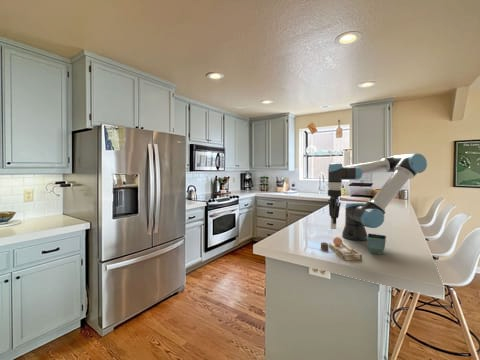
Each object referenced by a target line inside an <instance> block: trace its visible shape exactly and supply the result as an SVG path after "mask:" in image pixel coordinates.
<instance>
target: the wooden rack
mask: <svg viewBox="0 0 480 360" xmlns="http://www.w3.org/2000/svg"><path fill="white" fill-rule="evenodd" d="M351 249H352V254H344V253H343V252H342V251H341V250H339V249H336V252H335V253H336V255H337V256H338V257H339V258H341V259H342V261H363V254H362V253H360V251H358V250H356V249H354V248H351Z"/></svg>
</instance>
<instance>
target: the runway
mask: <svg viewBox="0 0 480 360" xmlns="http://www.w3.org/2000/svg"><path fill="white" fill-rule="evenodd" d="M328 244H329V246H328V248H330V249H331V250H332V251H334V252H335V253H336V249H339V250H341V251H342V252H343V253H344V254H352V249H353V248H351V247H349V246H348V245H347V244H345V243H344V242H342V245H340V246H336V245H335V244H334V243H332V242H329V243H328Z"/></svg>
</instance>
